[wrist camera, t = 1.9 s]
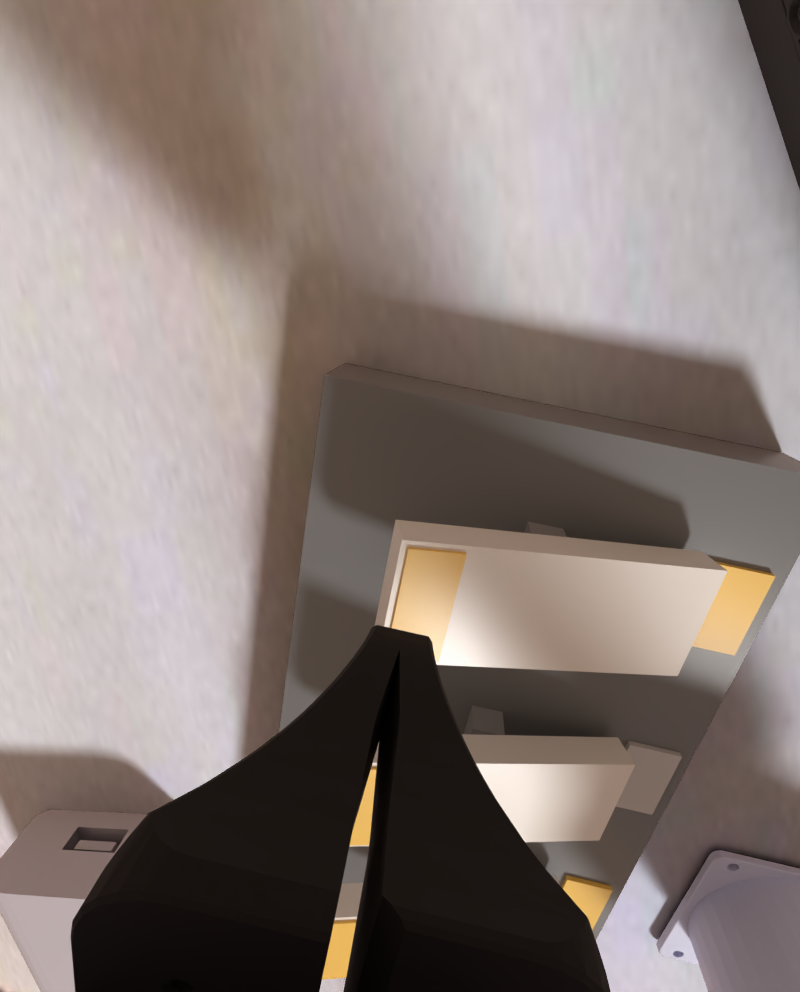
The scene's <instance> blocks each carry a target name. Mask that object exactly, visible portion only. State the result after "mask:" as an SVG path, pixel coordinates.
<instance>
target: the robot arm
mask: <svg viewBox="0 0 800 992" xmlns="http://www.w3.org/2000/svg"><path fill="white" fill-rule="evenodd" d="M378 743H379V748H378V758H377V769H376V779H375V790H374V800H373V811H372V822H371V833H370V842H369V850H368V858H367V865H366V870H365V876H364V881H363V887H362V893H361V898H360V904H359V909H358V915H357V921H356V926H355V932H354V937H353V943H352V948H351V954H350V959H349V965H348V970H347V976H346V981H345V987H344V992H610V988H609V984H608V980H607V975H606V972H605V969H604V965H603V962H602V959H601V956H600V953H599V949H598V946H597V943H596V940H595V937H594V934H593V931H592V928H591V925H590V922H589V919H588V918H587V916H586V915H585V914H584V913H583V911H582V910H581V909H580V908H579V907H578V906H577V905H576V903H575V902H574V901H573V900H572V899H571V898H570V897H569V895H568V894H567V893H566V892H565V891H564V890H563V888H562V887H561V886H560V885H559V884H558V883H557V882H556V880H555V879H554V878H553V877H552V876H551V875H550V873H549V872H548V871H547V870H546V869H545V868H544V866H543V865H542V864H541V863H540V861H539V860H538V859H537V857H536V856H535V855H534V853H533V852H532V851H531V849H530V848H529V847H528V846H527V844H526V843H525V841H524V840H523V838H522V837H521V836H520V834H519V833H518V831H517V830H516V828H515V827H514V825H513V824H512V822H511V821H510V819H509V818H508V816H507V815H506V813H505V812H504V810H503V809H502V807H501V806H500V804H499V803H498V801H497V800H496V798H495V796H494V795H493V793H492V791H491V790H490V788H489V786H488V784H487V783H486V781H485V779H484V778H483V776H482V774H481V772H480V770H479V768H478V767H477V765H476V763H475V761H474V759H473V757H472V755H471V753H470V751H469V749H468V747H467V745H466V743H465V741H464V738H463V736H462V734H461V732H460V729H459V727H458V725H457V722H456V720H455V718H454V715H453V713H452V710H451V707H450V705H449V702H448V699H447V696H446V693H445V691H444V688H443V685H442V682H441V678H440V675H439V671H438V668H437V664H436V660H435V656H434V651H433V644H432V641H431V639H430V638H429V636H425V635H420V634H416V633H411V632H407V631H402V630H398V629H393V628H389V627H384V626H380V625H376V626H374V627H372V628H371V630H370V632H369V634H368V636H367V637H366V639H365V641H364V642H363V644H362V645H361V647H360V648H359V650H358V651H357V652H356V654H355V655H354V657H353V658H352V659H351V661H350V662H349V663H348V664H347V665H346V667H345V668H344V669H343V670H342V671H341V673H340V674H339V675H338V676H337V678H336V679H335V680H334V681H333V682H332V683H331V684H330V685H329V686H328V687H327V688H326V689H325V690H324V691H323V693H322V694H321V695H320V696H319V697H318V698H317V699H316V700H315V701H314V702H313V703H312V704H311V705H310V706H309V707H308V708H307V709H306V710H304V711H303V712H302V713H301V714H300V715H299V716H298V717H297V718H296V719H294V720H293V721H292V722H291V723H290V724H289V725H288V726H286V727H285V728H284V729H283V730H282V731H280V732H279V733H278V734H276V735H275V736H274V737H273V738H271V739H270V740H269V741H267V742H266V743H265V744H264V745H262V746H261V747H260V748H258V749H257V750H255V751H254V752H253V753H251V754H250V755H248V756H247V757H246V758H244V759H243V760H241V761H239V762H238V763H236V764H235V765H233V766H232V767H230V768H228V769H227V770H225V771H224V772H222V773H221V774H219V775H218V776H216V777H214V778H213V779H211V780H210V781H208V782H206V783H205V784H203V785H201V786H199V787H198V788H196V789H194V790H192V791H190V792H188V793H186V794H184V795H183V796H181V797H179V798H177V799H175V800H173V801H171V802H169V803H167V804H166V805H164V806H162V807H160V808H158V809H156V810H154V811H152V812H150V813H148V815H147V816H146V817H145V818H144V819H143V820H142V821H141V822H140V824H139V825H138V826H137V827H136V828H135V829H134V831H133V832H132V833H131V834H130V835H129V837H128V838H127V839H126V840H125V842H124V843H123V844H122V846H121V847H120V848H119V849H118V851H117V852H116V853H115V854H114V856H113V857H112V858H111V860H110V861H109V863H108V864H107V865H106V867H105V868H104V870H103V871H102V873H101V875H100V876H99V878H98V879H97V881H96V883H95V884H94V886H93V888H92V889H91V891H90V893H89V894H88V896H87V897H86V899H85V901H84V902H83V904H82V906H81V907H80V909H79V911H78V912H77V914H76V916H75V917H74V919H73V920H72V928H71V936H70V937H71V949H72V961H73V972H74V984H75V992H319V990H320V985H321V980H322V976H323V971H324V967H325V962H326V958H327V953H328V948H329V944H330V939H331V934H332V929H333V925H334V920H335V915H336V910H337V905H338V900H339V896H340V891H341V886H342V881H343V876H344V871H345V866H346V861H347V856H348V851H349V846H350V841H351V836H352V831H353V828H354V824H355V821H356V817H357V814H358V811H359V807H360V804H361V801H362V797H363V794H364V790H365V787H366V784H367V780H368V777H369V774H370V770H371V767H372V763H373V760H374V757H375V753H376V750H377V747H378ZM657 948H658V951H659V953H660V954H661V955H662V956H665V957H668V958H672V959H676V960H680V961H685V962H689V963H693V964H697V965H699V966H700V969H701V972H702V975H703V978H704V981H705V983H706V986H707V989H708V992H800V868H795V867H791V866H787V865H782V864H778V863H774V862H770V861H765V860H761V859H757V858H753V857H748V856H744V855H740V854H736V853H731V852H727V851H723V850H717V851H714V852H712V853H711V854H710V855H709V856H708V858H707V860H706V861H705V863H704V865H703V866H702V868H701V870H700V871H699V873H698V875H697V876H696V878H695V880H694V881H693V883H692V885H691V886H690V888H689V890H688V891H687V893H686V895H685V896H684V898H683V900H682V901H681V903H680V905H679V906H678V908H677V910H676V911H675V913H674V915H673V916H672V918H671V920H670V921H669V923H668V925H667V926H666V928H665V930H664V931H663V933H662V935H661V936H660V938H659V940H658V941H657Z"/></svg>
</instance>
